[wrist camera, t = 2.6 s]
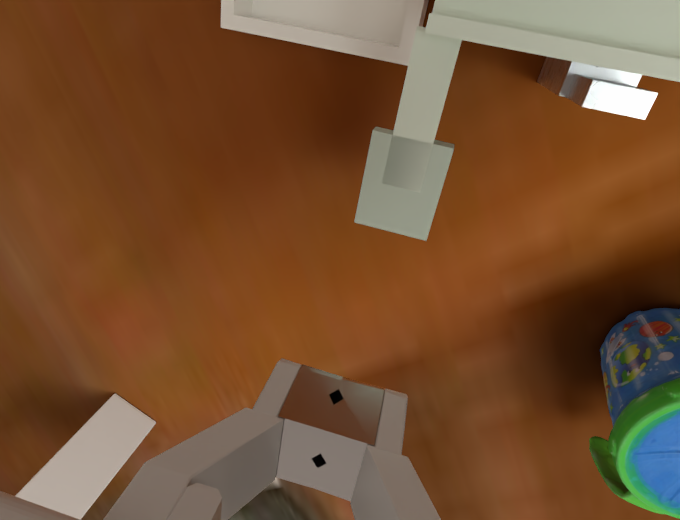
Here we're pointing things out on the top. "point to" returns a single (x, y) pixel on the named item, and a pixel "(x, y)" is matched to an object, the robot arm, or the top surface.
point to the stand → (597, 87)
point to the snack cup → (643, 411)
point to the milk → (89, 459)
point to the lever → (511, 33)
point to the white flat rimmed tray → (333, 24)
